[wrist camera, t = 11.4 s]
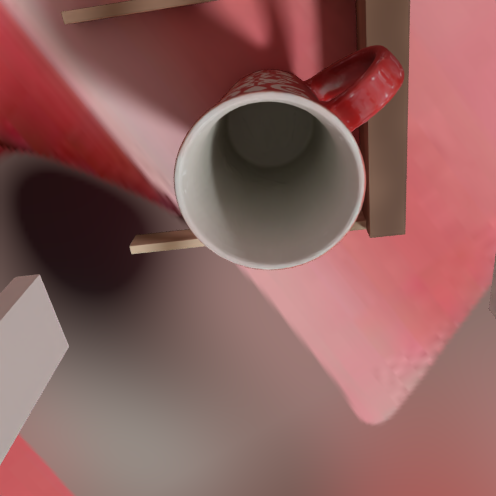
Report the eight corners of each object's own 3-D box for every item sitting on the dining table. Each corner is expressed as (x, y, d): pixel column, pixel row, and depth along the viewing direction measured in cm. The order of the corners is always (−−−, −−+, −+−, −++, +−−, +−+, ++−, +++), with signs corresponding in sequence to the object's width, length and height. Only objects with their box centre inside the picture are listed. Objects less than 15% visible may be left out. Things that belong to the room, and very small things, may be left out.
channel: (137, 242, 39) (126, 263, 35) (72, 11, 31) (50, 12, 27) (393, 214, 36) (405, 234, 33) (395, -42, 28) (410, -47, 25)
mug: (259, 204, 37) (255, 301, 25) (181, 114, 33) (133, 174, 22) (399, 101, 32) (475, 157, 21) (325, -13, 29) (364, -24, 17)
